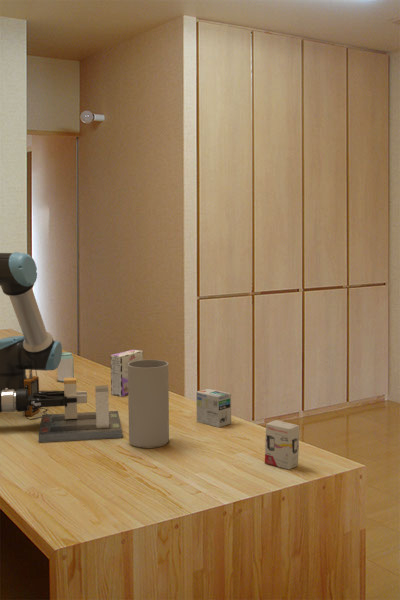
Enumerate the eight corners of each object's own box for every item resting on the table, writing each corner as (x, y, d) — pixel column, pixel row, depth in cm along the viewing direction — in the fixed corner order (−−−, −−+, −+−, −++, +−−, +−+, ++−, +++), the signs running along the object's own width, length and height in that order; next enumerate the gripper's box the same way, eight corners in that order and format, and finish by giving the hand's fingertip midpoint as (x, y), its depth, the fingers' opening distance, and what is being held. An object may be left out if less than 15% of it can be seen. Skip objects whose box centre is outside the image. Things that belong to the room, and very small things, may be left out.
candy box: (133, 388, 289) (132, 348, 287) (144, 390, 285) (143, 350, 283) (110, 394, 277) (109, 354, 276) (121, 397, 274) (120, 355, 272)
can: (55, 382, 300) (54, 354, 298) (60, 378, 307) (60, 351, 305) (70, 382, 298) (69, 355, 297) (76, 379, 305) (75, 352, 304)
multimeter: (46, 420, 242) (44, 364, 240) (19, 419, 244) (17, 363, 242) (62, 409, 256) (61, 356, 254) (37, 408, 258) (35, 355, 256)
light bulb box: (232, 423, 238) (232, 392, 236) (218, 428, 233) (218, 396, 232) (208, 417, 245) (208, 387, 244) (195, 421, 240) (195, 391, 239)
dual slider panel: (42, 421, 241) (41, 377, 239) (118, 417, 245) (117, 374, 243) (38, 442, 218) (37, 393, 216) (122, 437, 223) (121, 389, 221)
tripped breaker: (65, 415, 238) (64, 377, 236) (77, 415, 238) (76, 377, 237) (65, 419, 234) (64, 380, 232) (77, 418, 235) (76, 380, 233)
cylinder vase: (138, 451, 210) (137, 369, 207) (123, 439, 221) (121, 362, 218) (175, 444, 215) (175, 365, 213) (159, 433, 226) (158, 358, 224)
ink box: (263, 463, 199) (264, 423, 197) (273, 459, 202) (274, 419, 201) (289, 470, 193) (290, 429, 192) (299, 465, 197) (300, 425, 195)
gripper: (13, 395, 223) (86, 392, 227) (17, 383, 240) (86, 380, 244) (13, 418, 224) (87, 414, 228) (18, 404, 241) (86, 401, 245)
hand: (86, 397), depth 236 cm, fingers closed on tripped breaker, 4 cm apart
